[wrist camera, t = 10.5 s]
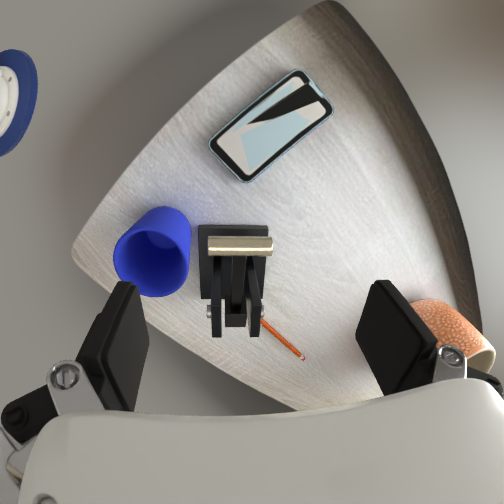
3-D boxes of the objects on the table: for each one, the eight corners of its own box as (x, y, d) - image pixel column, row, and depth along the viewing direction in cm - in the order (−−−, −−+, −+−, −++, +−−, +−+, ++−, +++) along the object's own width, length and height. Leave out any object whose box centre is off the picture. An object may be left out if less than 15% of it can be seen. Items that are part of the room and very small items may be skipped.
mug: (114, 251, 37) (87, 290, 28) (160, 186, 34) (138, 211, 25) (158, 283, 40) (144, 328, 31) (209, 224, 37) (204, 261, 28)
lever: (208, 228, 22) (207, 250, 21) (270, 229, 23) (274, 250, 21) (212, 308, 31) (212, 327, 30) (256, 308, 32) (258, 327, 30)
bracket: (198, 224, 37) (187, 275, 25) (267, 225, 37) (286, 275, 26) (201, 294, 41) (195, 357, 30) (261, 294, 42) (274, 356, 31)
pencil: (301, 358, 50) (302, 361, 49) (240, 304, 43) (240, 307, 42) (305, 356, 50) (305, 359, 49) (244, 301, 43) (245, 304, 42)
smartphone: (204, 143, 31) (299, 65, 27) (204, 143, 32) (297, 66, 28) (245, 186, 34) (337, 111, 30) (245, 185, 35) (334, 111, 31)
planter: (441, 264, 44) (505, 325, 27) (444, 329, 53) (485, 385, 36) (350, 319, 47) (394, 404, 30) (370, 374, 56) (401, 440, 39)
